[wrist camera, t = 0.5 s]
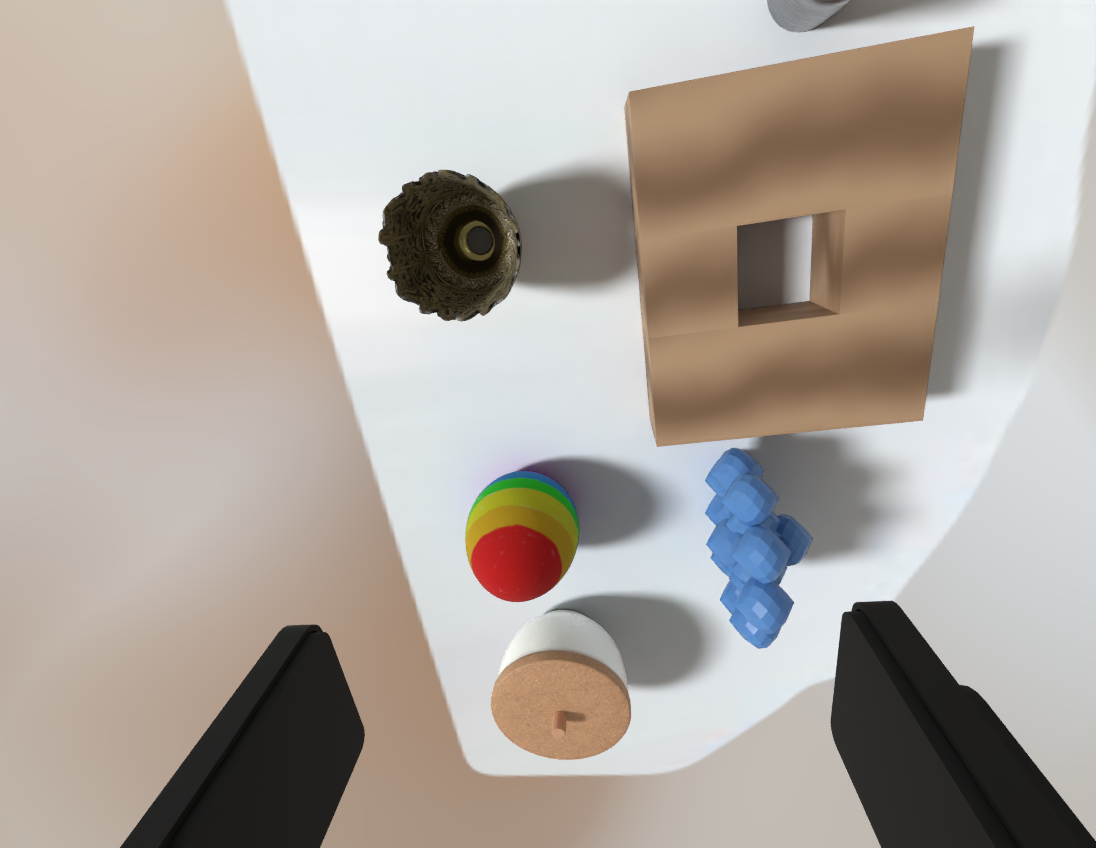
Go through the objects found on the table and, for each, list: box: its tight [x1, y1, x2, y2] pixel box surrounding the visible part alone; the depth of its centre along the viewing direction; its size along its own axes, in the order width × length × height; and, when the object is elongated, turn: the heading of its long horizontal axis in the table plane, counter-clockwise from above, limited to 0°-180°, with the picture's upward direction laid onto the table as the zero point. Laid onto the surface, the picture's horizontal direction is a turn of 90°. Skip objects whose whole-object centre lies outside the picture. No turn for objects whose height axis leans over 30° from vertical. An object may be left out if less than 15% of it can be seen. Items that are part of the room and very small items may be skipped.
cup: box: [378, 170, 522, 321], centre depth 30 cm, size 7×7×8 cm
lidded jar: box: [491, 610, 631, 760], centre depth 42 cm, size 11×11×9 cm
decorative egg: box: [465, 471, 579, 602], centre depth 37 cm, size 8×8×10 cm
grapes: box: [705, 448, 813, 649], centre depth 34 cm, size 12×7×12 cm, turn 8°
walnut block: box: [624, 27, 974, 447], centre depth 31 cm, size 20×16×4 cm
